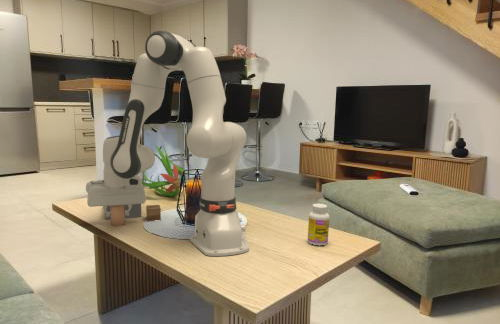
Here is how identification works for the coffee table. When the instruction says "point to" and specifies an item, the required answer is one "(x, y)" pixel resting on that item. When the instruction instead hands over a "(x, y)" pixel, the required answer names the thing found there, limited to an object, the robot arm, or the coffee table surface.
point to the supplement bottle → (318, 225)
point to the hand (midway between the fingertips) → (117, 216)
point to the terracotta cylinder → (117, 215)
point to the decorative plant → (166, 177)
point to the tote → (133, 212)
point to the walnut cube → (153, 212)
